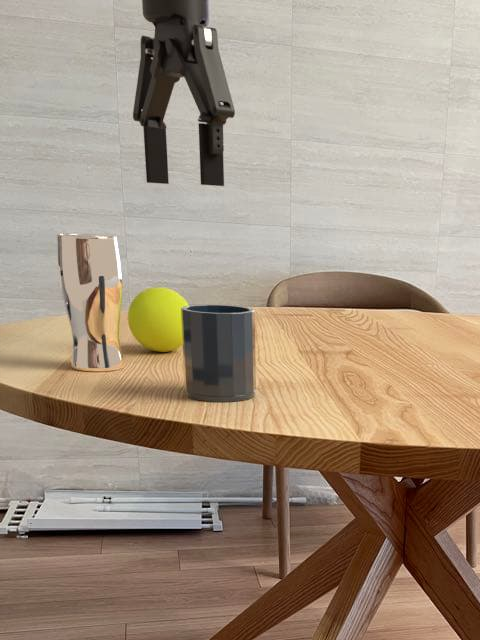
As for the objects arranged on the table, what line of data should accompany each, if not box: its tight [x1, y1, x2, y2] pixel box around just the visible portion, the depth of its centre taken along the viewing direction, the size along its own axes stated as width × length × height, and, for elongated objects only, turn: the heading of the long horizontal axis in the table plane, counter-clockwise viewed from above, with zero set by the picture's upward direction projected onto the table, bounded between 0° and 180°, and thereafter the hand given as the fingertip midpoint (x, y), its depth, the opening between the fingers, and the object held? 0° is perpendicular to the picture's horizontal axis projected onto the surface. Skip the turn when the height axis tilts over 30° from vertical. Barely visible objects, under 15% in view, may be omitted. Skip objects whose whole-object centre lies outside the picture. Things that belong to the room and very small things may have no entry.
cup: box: [181, 304, 257, 403], centre depth 88 cm, size 7×7×9 cm
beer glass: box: [56, 232, 126, 372], centre depth 97 cm, size 7×7×15 cm
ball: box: [127, 286, 190, 353], centre depth 110 cm, size 8×8×8 cm
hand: (183, 184), depth 103 cm, fingers open, 13 cm apart
